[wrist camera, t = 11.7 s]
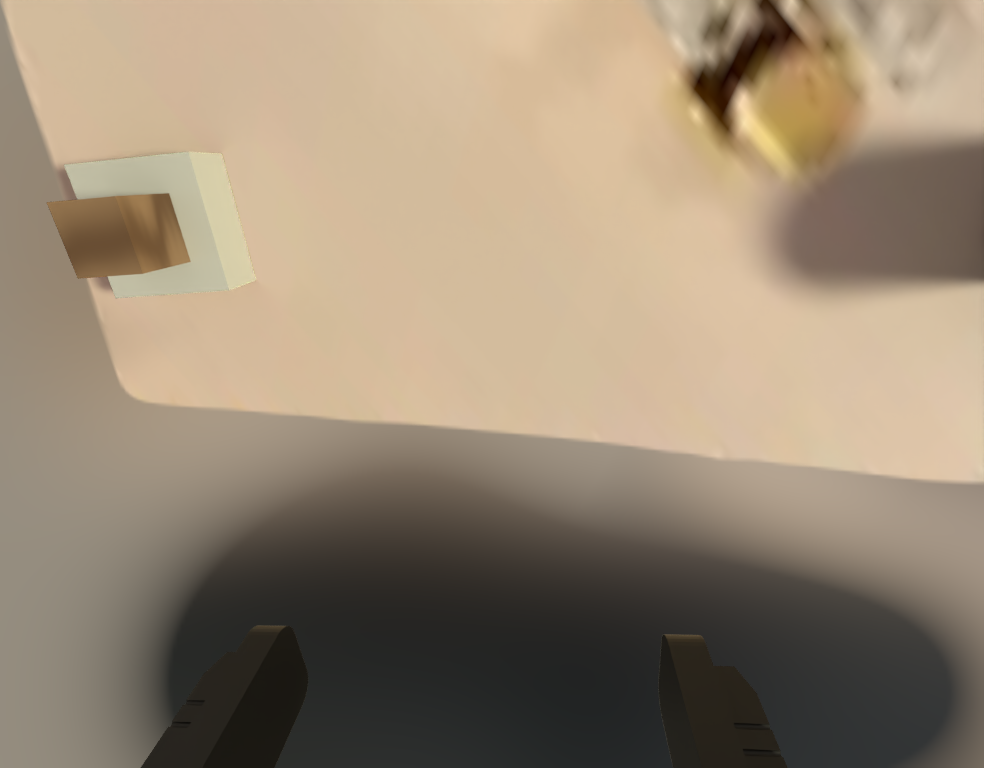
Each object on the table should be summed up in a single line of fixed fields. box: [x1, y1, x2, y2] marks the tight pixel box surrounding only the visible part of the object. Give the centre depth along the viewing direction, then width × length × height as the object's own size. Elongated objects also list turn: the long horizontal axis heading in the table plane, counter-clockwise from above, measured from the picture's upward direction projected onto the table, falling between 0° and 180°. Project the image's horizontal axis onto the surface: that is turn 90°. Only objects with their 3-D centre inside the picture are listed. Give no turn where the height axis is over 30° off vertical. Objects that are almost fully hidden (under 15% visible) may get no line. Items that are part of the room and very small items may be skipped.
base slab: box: [64, 152, 256, 298], centre depth 39 cm, size 10×10×4 cm
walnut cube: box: [47, 193, 191, 278], centre depth 35 cm, size 5×5×5 cm
